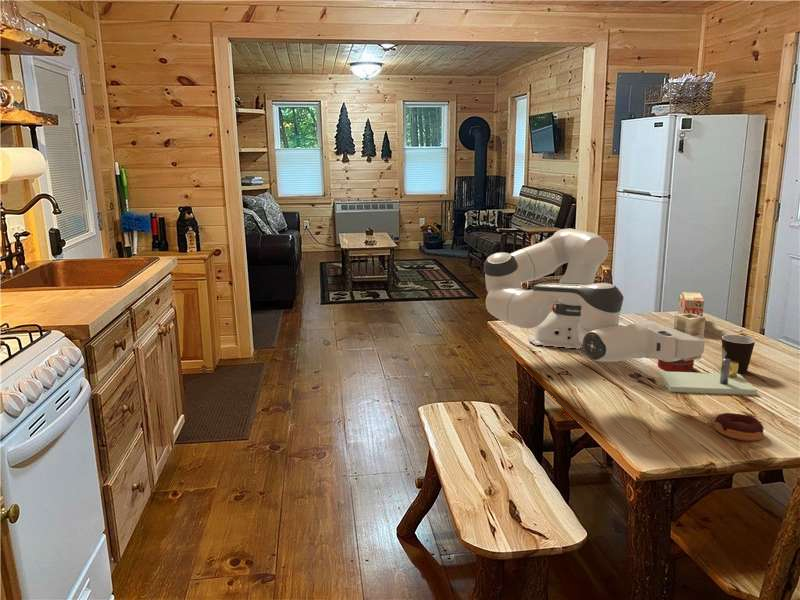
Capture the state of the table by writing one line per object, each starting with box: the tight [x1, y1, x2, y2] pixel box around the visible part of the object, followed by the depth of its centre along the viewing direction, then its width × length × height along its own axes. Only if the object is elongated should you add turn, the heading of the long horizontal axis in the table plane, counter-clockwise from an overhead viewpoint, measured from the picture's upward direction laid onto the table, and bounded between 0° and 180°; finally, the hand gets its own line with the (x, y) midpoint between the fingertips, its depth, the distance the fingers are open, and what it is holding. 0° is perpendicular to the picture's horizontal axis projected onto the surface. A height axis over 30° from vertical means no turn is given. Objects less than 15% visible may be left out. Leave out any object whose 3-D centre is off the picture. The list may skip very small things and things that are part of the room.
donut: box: [714, 412, 765, 442], centre depth 137 cm, size 10×10×4 cm
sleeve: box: [673, 313, 707, 361], centre depth 152 cm, size 5×5×11 cm
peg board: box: [657, 370, 758, 396], centre depth 165 cm, size 22×12×2 cm, turn 82°
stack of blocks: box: [677, 291, 705, 317], centre depth 222 cm, size 21×6×12 cm, turn 159°
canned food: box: [657, 358, 695, 372], centre depth 179 cm, size 11×10×10 cm
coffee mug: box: [721, 334, 756, 376], centre depth 176 cm, size 12×9×10 cm
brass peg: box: [729, 361, 739, 378], centre depth 167 cm, size 3×3×4 cm
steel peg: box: [720, 358, 731, 385], centre depth 162 cm, size 2×2×7 cm
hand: (691, 334), depth 152 cm, fingers closed on sleeve, 5 cm apart
